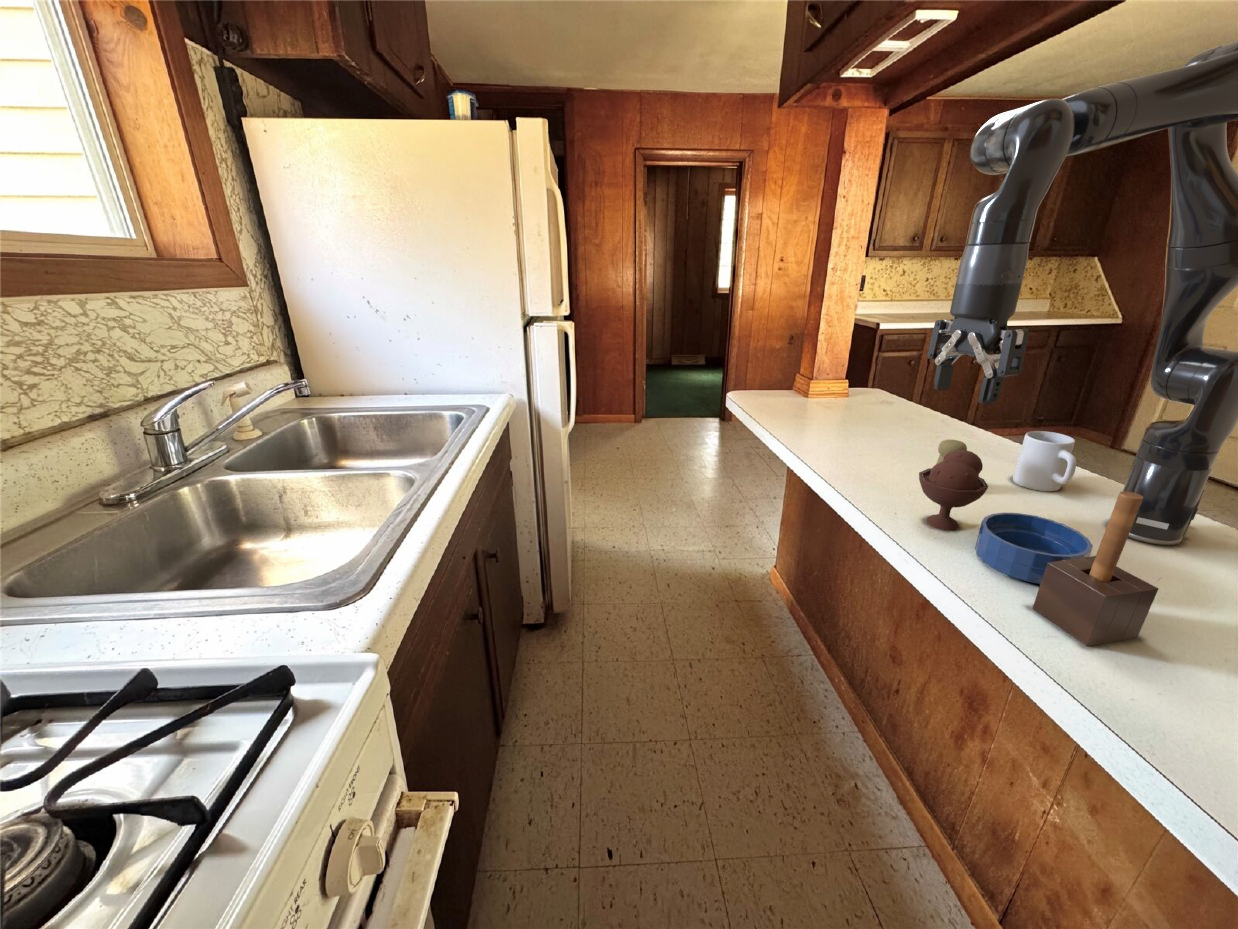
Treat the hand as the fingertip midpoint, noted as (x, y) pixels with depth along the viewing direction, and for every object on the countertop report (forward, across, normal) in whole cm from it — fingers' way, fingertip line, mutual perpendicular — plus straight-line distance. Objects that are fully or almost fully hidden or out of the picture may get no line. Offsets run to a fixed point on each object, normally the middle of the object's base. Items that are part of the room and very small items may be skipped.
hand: (962, 396), depth 75 cm
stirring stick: (+29, -18, -11) cm, 36 cm away
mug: (+30, +21, -45) cm, 58 cm away
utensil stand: (+29, -18, -11) cm, 36 cm away
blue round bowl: (+29, -4, -16) cm, 33 cm away
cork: (+30, +26, -25) cm, 46 cm away
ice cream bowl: (+29, +11, -13) cm, 34 cm away
